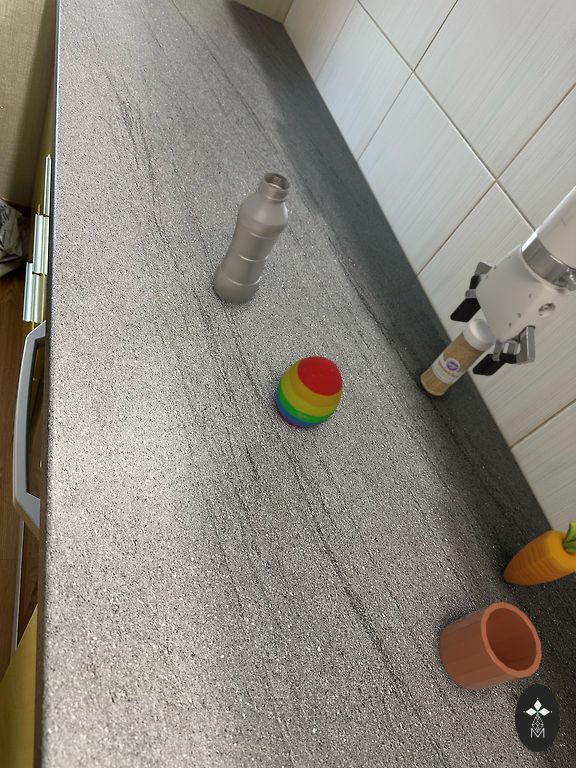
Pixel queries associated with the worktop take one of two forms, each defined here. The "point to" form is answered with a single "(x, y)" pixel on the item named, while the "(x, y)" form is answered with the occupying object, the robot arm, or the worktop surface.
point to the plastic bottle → (253, 239)
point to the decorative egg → (309, 391)
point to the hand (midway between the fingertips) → (469, 345)
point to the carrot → (544, 558)
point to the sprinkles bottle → (458, 357)
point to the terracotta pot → (490, 647)
